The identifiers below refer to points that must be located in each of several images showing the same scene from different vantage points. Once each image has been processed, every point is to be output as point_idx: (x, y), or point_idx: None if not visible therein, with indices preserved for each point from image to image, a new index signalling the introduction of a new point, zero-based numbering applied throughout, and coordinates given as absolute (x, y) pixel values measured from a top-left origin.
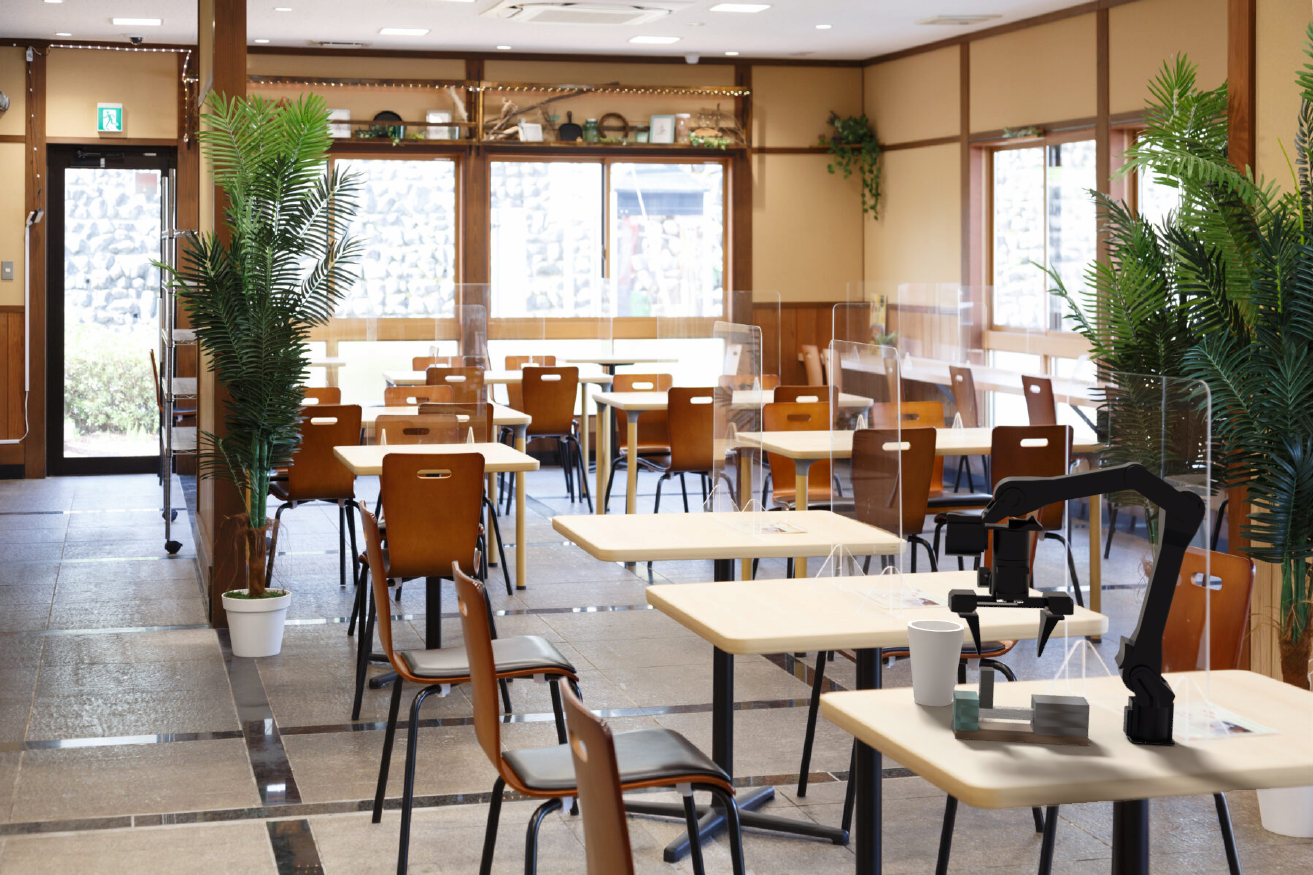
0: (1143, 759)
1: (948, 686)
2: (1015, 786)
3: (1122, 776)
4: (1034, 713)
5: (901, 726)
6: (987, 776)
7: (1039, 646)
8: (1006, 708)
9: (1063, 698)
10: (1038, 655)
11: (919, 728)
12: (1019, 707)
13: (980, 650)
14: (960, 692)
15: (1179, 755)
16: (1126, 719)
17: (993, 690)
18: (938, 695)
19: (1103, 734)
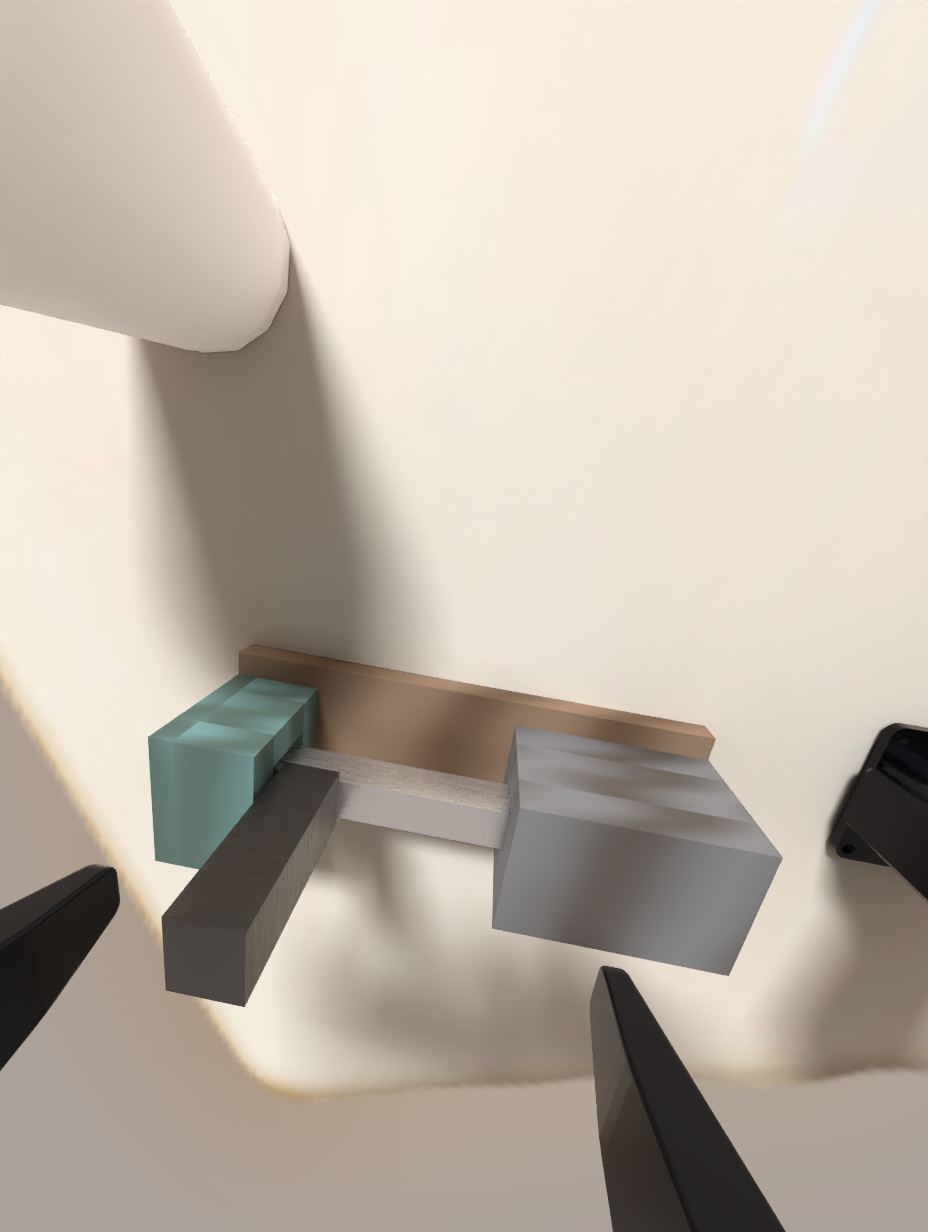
0: (766, 967)
1: (204, 313)
2: (345, 1087)
3: None
4: (497, 860)
5: (86, 652)
6: (295, 1035)
7: (609, 1187)
8: (393, 820)
9: (655, 877)
10: (593, 1033)
11: (144, 674)
12: (453, 807)
13: (71, 970)
14: (178, 773)
15: (912, 945)
16: (894, 856)
17: (299, 894)
18: (187, 341)
19: (782, 743)
